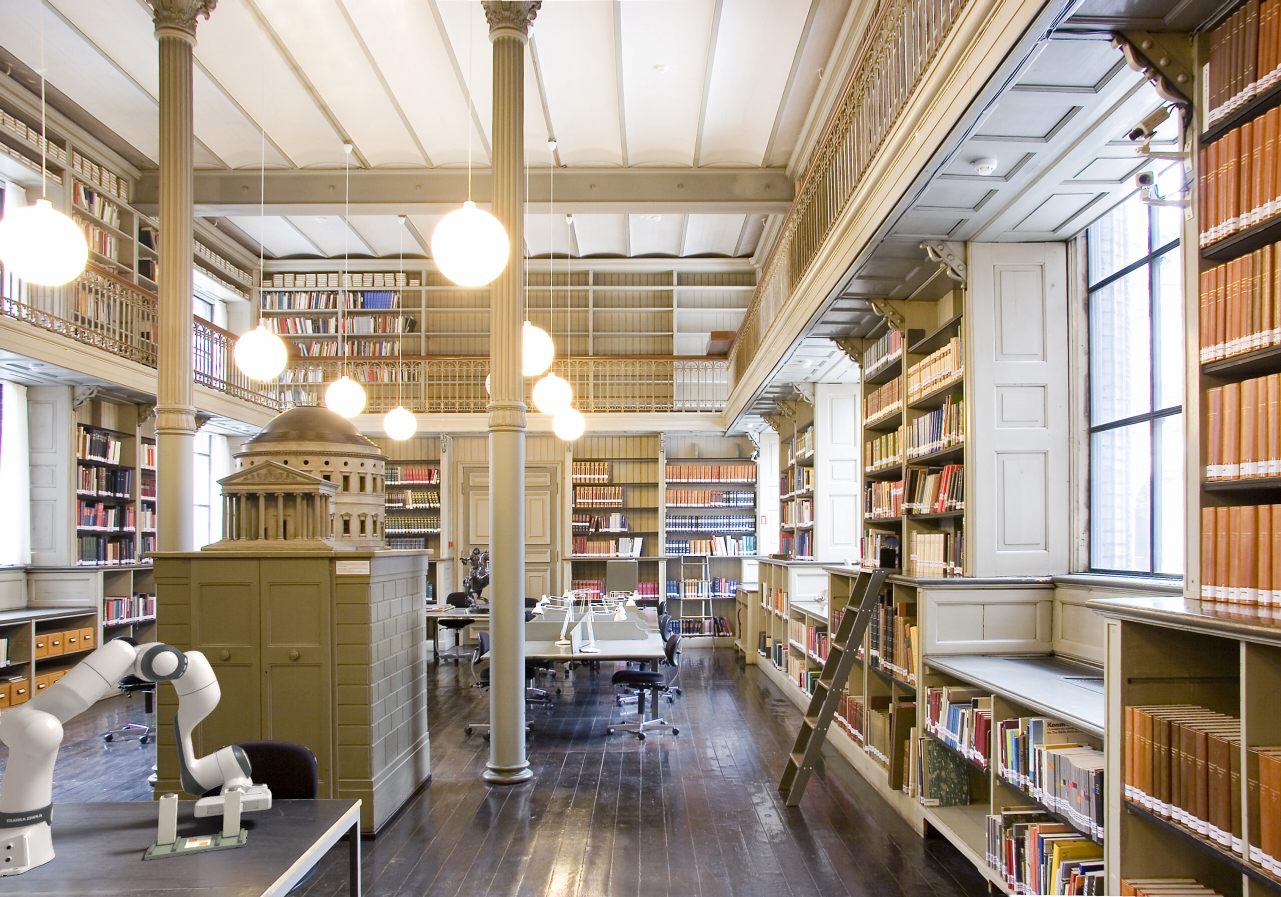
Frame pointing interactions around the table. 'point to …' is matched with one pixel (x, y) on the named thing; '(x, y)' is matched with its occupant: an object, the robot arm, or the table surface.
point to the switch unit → (194, 845)
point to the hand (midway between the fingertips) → (232, 812)
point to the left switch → (167, 819)
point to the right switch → (232, 812)
